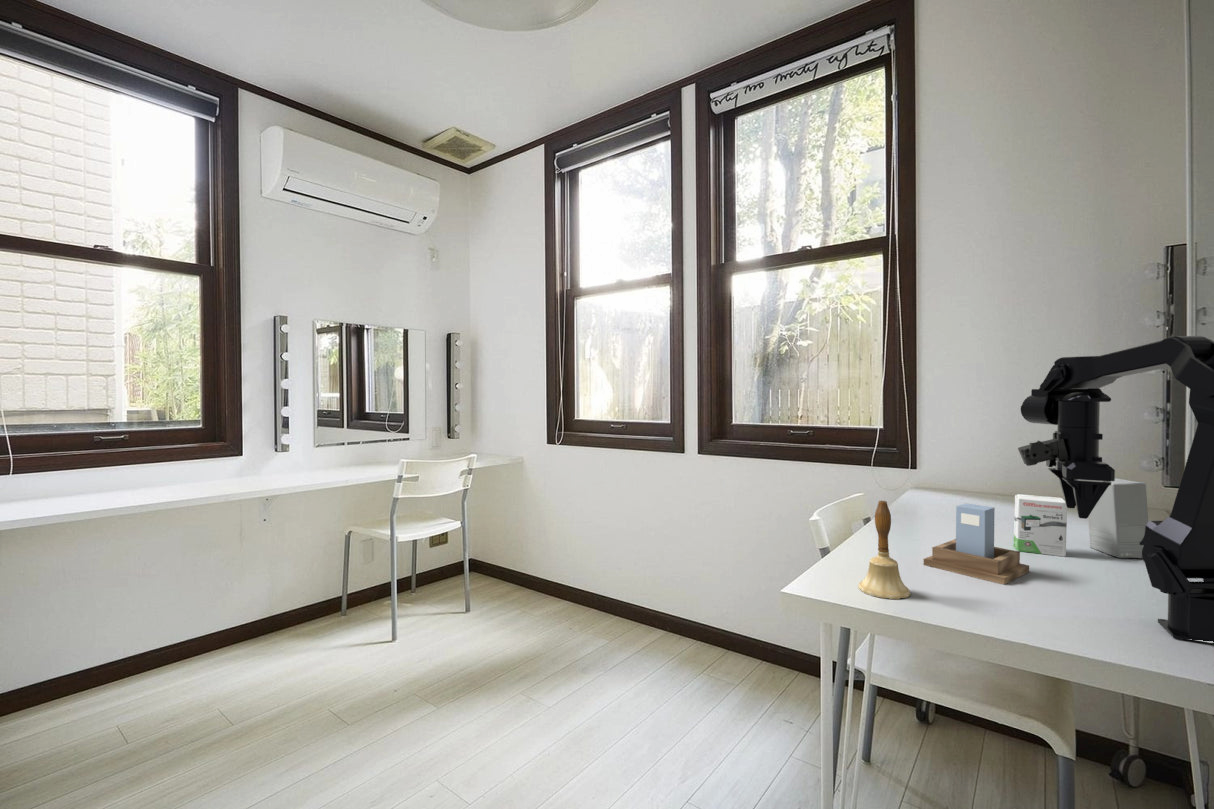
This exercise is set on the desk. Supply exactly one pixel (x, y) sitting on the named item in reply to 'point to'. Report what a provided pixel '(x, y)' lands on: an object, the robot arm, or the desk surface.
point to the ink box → (1040, 525)
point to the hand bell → (883, 563)
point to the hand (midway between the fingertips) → (1076, 512)
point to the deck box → (975, 530)
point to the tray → (978, 563)
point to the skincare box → (1120, 519)
